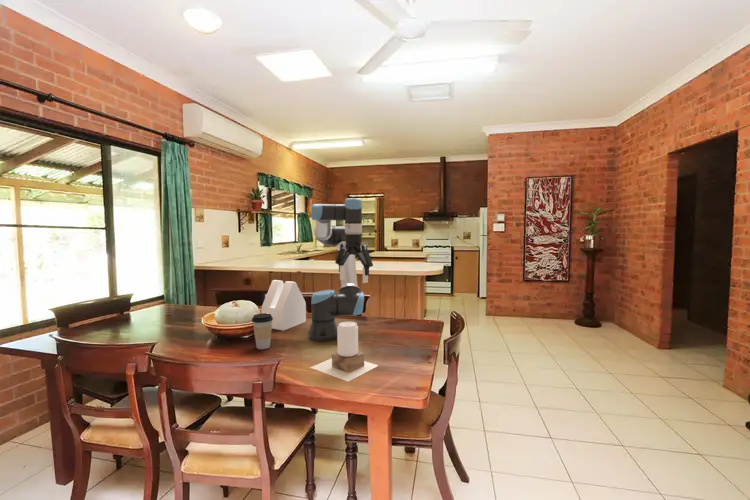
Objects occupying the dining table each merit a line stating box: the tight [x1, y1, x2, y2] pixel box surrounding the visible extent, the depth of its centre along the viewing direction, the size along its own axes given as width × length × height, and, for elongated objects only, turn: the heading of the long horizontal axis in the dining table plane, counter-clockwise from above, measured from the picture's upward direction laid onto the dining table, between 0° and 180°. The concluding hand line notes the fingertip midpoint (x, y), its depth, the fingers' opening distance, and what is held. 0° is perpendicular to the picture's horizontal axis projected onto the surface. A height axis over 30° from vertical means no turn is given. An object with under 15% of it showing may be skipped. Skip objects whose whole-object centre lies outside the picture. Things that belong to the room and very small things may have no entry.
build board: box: [309, 357, 379, 382], centre depth 137 cm, size 20×18×1 cm
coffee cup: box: [251, 313, 273, 350], centre depth 161 cm, size 9×9×15 cm
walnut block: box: [331, 351, 365, 373], centre depth 137 cm, size 9×9×5 cm
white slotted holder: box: [261, 279, 307, 331], centre depth 199 cm, size 19×15×25 cm
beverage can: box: [336, 321, 359, 357], centre depth 136 cm, size 8×8×12 cm
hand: (353, 281), depth 156 cm, fingers open, 13 cm apart
